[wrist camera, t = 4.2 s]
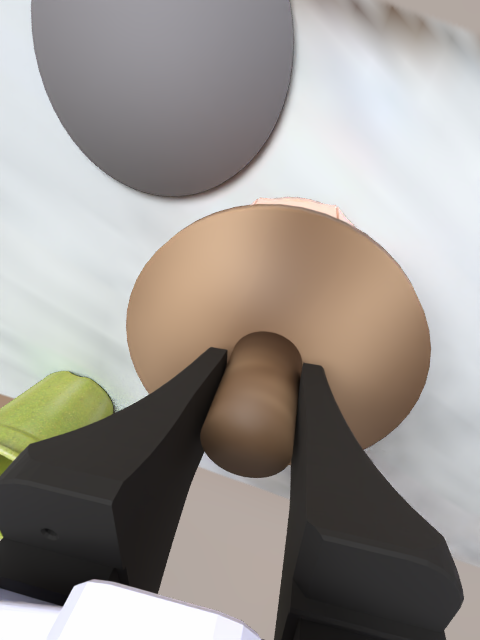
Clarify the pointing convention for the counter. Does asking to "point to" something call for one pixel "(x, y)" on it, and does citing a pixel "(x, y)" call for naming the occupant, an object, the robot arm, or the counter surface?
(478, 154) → the counter surface
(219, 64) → the mat
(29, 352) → the counter surface
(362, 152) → the counter surface
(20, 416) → the plant pot
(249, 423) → the lid
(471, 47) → the counter surface
